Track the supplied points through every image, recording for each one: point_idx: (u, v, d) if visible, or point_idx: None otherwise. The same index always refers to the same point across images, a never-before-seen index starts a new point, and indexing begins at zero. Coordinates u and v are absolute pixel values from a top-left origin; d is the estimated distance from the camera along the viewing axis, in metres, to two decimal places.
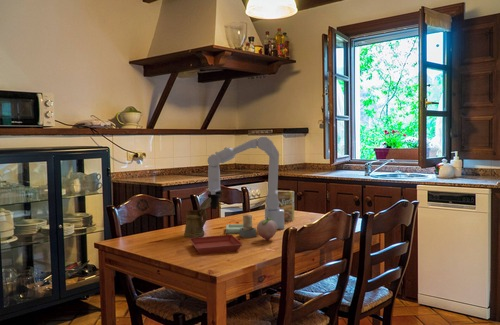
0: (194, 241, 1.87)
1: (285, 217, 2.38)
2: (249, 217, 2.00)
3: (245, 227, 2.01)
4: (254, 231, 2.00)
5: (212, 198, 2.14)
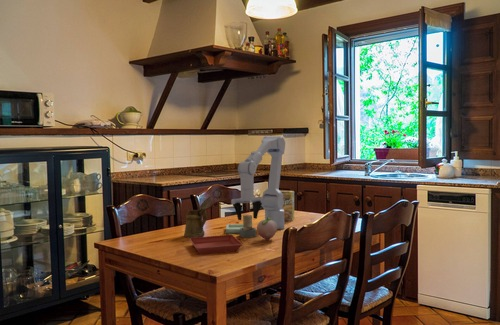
0: (194, 241, 1.87)
1: (285, 217, 2.38)
2: (249, 217, 2.00)
3: (245, 227, 2.01)
4: (254, 231, 2.00)
5: None
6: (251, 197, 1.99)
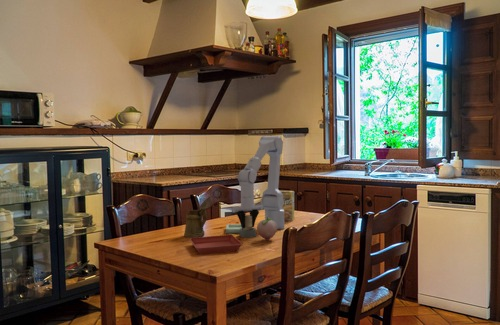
0: (194, 241, 1.87)
1: (285, 217, 2.38)
2: (249, 217, 2.00)
3: (245, 227, 2.01)
4: (254, 231, 2.00)
5: (241, 216, 2.01)
6: (251, 205, 2.00)
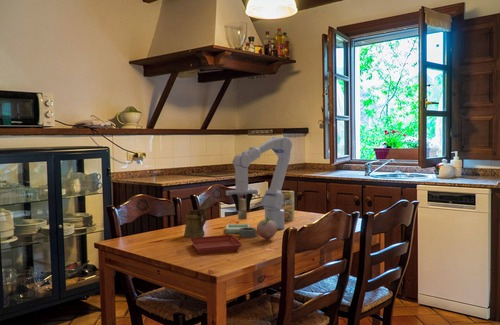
0: (194, 241, 1.87)
1: (285, 217, 2.38)
2: (242, 200, 2.06)
3: (239, 210, 2.06)
4: (254, 231, 2.00)
5: None
6: (244, 189, 2.05)
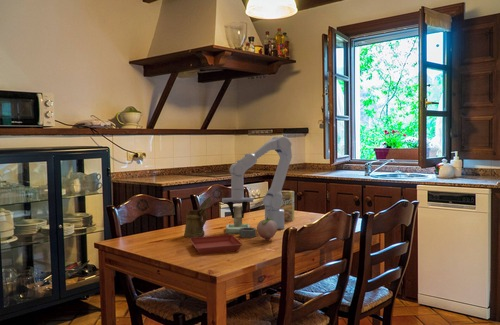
0: (194, 241, 1.87)
1: (285, 217, 2.38)
2: (237, 208, 2.11)
3: (234, 217, 2.12)
4: (254, 231, 2.00)
5: None
6: (239, 197, 2.10)
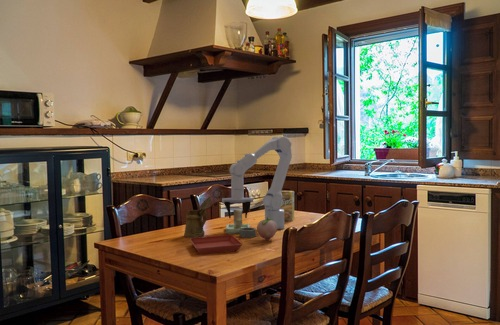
0: (194, 241, 1.87)
1: (285, 217, 2.38)
2: (237, 211, 2.11)
3: (234, 221, 2.12)
4: (254, 231, 2.00)
5: None
6: (239, 197, 2.10)
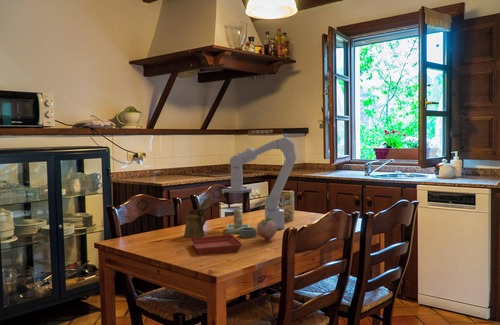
0: (194, 241, 1.87)
1: (285, 217, 2.38)
2: (238, 211, 2.11)
3: (234, 220, 2.12)
4: (254, 231, 2.00)
5: None
6: (238, 188, 2.19)
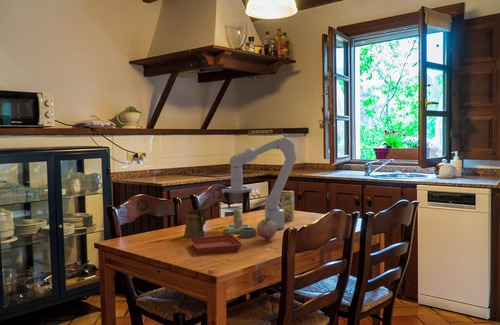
0: (194, 241, 1.87)
1: (285, 217, 2.38)
2: (237, 211, 2.11)
3: (234, 221, 2.12)
4: (254, 231, 2.00)
5: None
6: (238, 188, 2.19)
